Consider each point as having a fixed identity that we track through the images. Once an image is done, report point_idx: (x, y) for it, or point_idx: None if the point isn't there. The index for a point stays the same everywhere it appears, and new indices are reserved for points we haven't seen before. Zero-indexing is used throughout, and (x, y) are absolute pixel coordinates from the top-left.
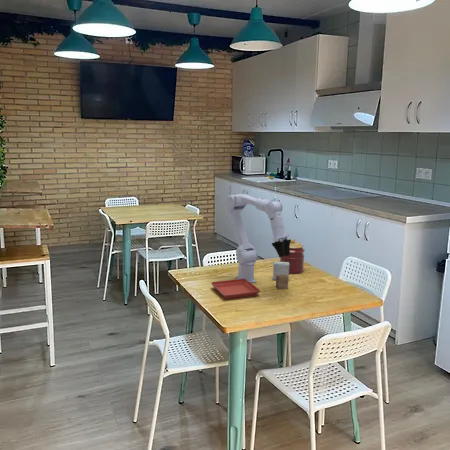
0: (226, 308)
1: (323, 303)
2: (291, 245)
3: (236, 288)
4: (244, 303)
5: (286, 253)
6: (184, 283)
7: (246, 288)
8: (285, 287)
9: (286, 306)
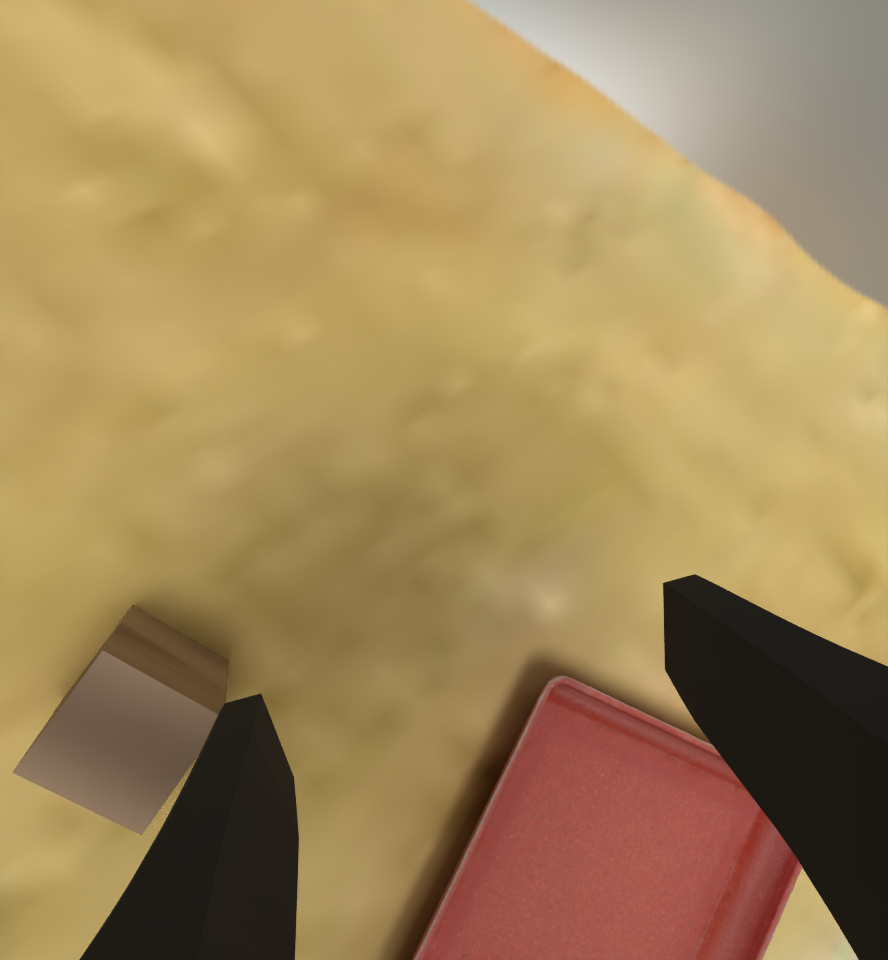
0: (875, 658)
1: (260, 61)
2: None
3: (542, 930)
4: None
5: (278, 793)
6: None
7: (477, 875)
8: (157, 625)
9: (573, 332)
